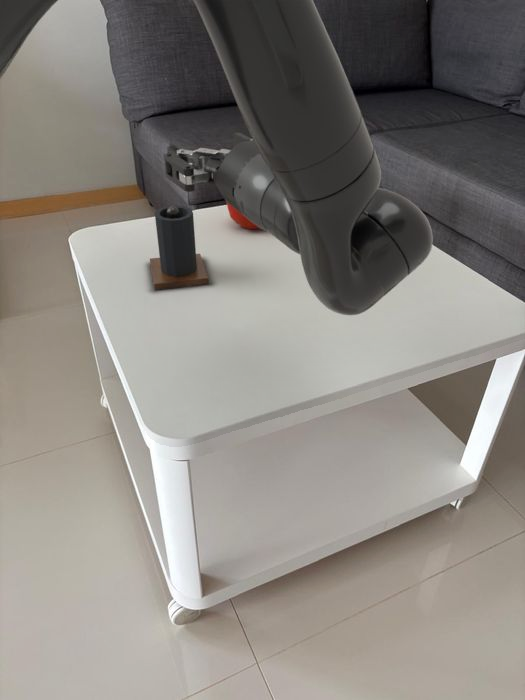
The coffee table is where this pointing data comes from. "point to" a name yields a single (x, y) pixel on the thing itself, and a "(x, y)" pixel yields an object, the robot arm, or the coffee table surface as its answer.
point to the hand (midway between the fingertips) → (204, 145)
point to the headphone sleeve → (176, 242)
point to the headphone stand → (181, 281)
